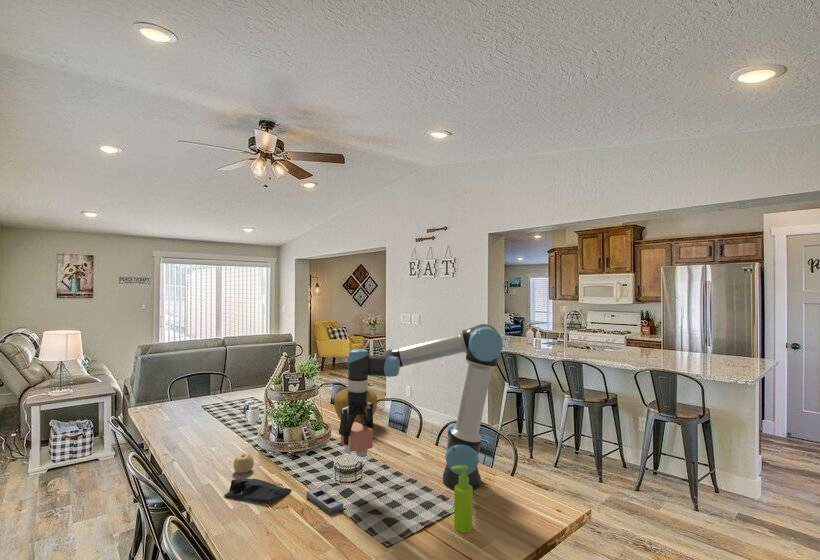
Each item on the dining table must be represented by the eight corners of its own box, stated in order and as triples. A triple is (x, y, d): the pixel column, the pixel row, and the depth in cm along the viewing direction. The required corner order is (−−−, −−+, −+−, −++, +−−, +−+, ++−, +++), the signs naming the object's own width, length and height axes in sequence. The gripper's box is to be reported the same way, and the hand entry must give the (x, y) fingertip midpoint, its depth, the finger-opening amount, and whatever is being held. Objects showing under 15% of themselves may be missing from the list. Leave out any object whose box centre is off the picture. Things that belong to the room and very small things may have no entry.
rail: (343, 509, 151) (343, 503, 151) (330, 514, 148) (330, 508, 148) (318, 492, 163) (318, 487, 163) (306, 497, 160) (306, 491, 160)
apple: (257, 466, 185) (257, 454, 181) (244, 481, 178) (244, 469, 175) (243, 458, 187) (242, 446, 183) (229, 472, 180) (228, 460, 177)
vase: (375, 433, 228) (375, 376, 228) (329, 432, 228) (330, 375, 228) (378, 419, 251) (379, 367, 252) (337, 418, 252) (338, 367, 252)
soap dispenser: (449, 523, 144) (450, 462, 144) (470, 522, 144) (470, 462, 145) (452, 533, 138) (453, 470, 138) (474, 532, 139) (474, 469, 139)
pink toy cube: (372, 454, 164) (372, 429, 164) (357, 459, 159) (357, 433, 159) (355, 445, 172) (356, 421, 172) (340, 450, 167) (341, 425, 167)
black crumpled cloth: (267, 510, 151) (267, 496, 151) (220, 497, 160) (220, 484, 160) (295, 491, 165) (295, 479, 165) (250, 480, 174) (250, 468, 174)
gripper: (372, 384, 175) (371, 441, 175) (329, 392, 162) (328, 453, 162) (384, 388, 169) (382, 447, 169) (341, 396, 156) (339, 460, 156)
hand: (356, 450), depth 165 cm, fingers closed on pink toy cube, 7 cm apart
